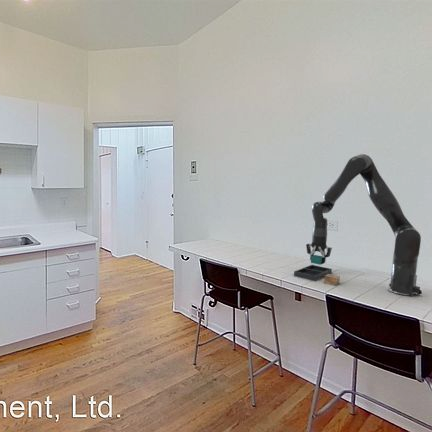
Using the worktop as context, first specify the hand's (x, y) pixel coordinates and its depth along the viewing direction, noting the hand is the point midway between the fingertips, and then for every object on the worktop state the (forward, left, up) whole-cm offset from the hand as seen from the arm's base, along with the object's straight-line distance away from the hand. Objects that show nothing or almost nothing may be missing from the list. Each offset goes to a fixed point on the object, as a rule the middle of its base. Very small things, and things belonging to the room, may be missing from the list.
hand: (317, 262), depth 182 cm
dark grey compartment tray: (0, +5, -7) cm, 8 cm away
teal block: (0, 0, 0) cm, 0 cm away
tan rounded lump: (-13, +12, -7) cm, 19 cm away
